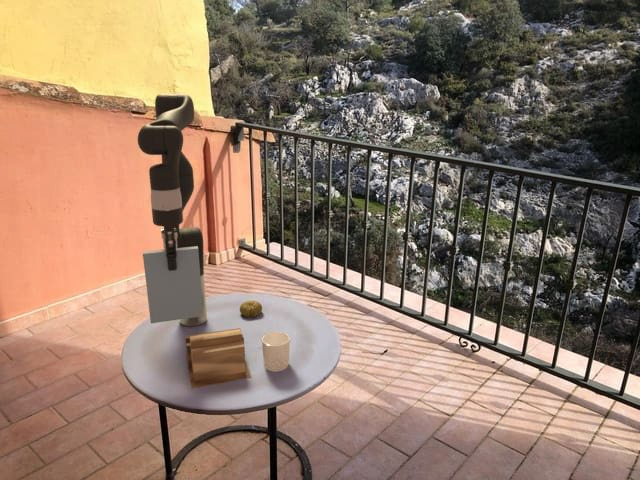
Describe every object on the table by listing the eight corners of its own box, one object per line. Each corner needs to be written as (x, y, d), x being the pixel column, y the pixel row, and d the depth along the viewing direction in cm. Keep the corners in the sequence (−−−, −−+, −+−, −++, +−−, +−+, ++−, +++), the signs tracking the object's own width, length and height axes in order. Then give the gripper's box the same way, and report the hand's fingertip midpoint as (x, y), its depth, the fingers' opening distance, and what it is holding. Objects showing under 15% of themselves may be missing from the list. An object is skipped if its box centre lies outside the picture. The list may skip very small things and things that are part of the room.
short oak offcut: (193, 374, 132) (191, 349, 130) (243, 366, 137) (242, 341, 134) (194, 380, 129) (192, 354, 127) (245, 371, 134) (244, 346, 131)
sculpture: (266, 302, 171) (251, 310, 165) (266, 312, 173) (251, 321, 166) (250, 297, 176) (234, 304, 170) (250, 307, 177) (235, 314, 171)
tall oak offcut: (192, 368, 135) (189, 336, 132) (241, 359, 140) (240, 329, 137) (193, 373, 133) (190, 341, 130) (243, 365, 137) (241, 334, 134)
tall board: (150, 320, 131) (142, 251, 125) (202, 312, 136) (197, 246, 130) (150, 323, 130) (142, 254, 123) (203, 315, 134) (198, 248, 128)
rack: (187, 361, 141) (185, 336, 139) (241, 352, 146) (240, 328, 144) (191, 393, 127) (189, 365, 124) (251, 382, 132) (250, 355, 129)
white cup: (279, 380, 133) (278, 348, 130) (257, 371, 137) (256, 340, 134) (295, 367, 139) (295, 336, 136) (273, 359, 143) (273, 329, 140)
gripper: (151, 200, 128) (157, 261, 133) (151, 212, 115) (158, 279, 121) (180, 198, 130) (184, 258, 135) (183, 210, 118) (188, 276, 123)
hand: (172, 268), depth 128 cm, fingers closed on tall board, 2 cm apart
